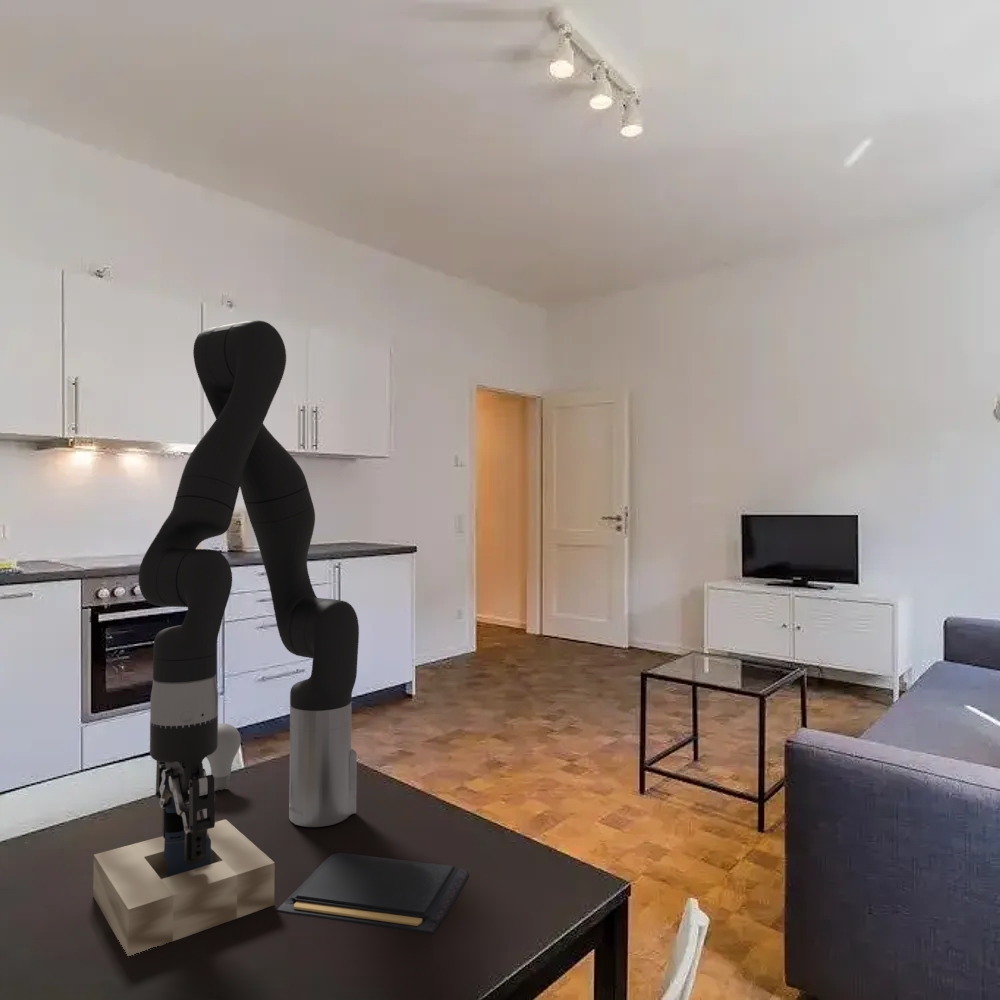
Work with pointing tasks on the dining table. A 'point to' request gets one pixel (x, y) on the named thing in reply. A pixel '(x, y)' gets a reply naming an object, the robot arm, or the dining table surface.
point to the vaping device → (179, 844)
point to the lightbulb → (224, 755)
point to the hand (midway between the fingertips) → (183, 849)
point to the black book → (378, 892)
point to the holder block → (180, 889)
